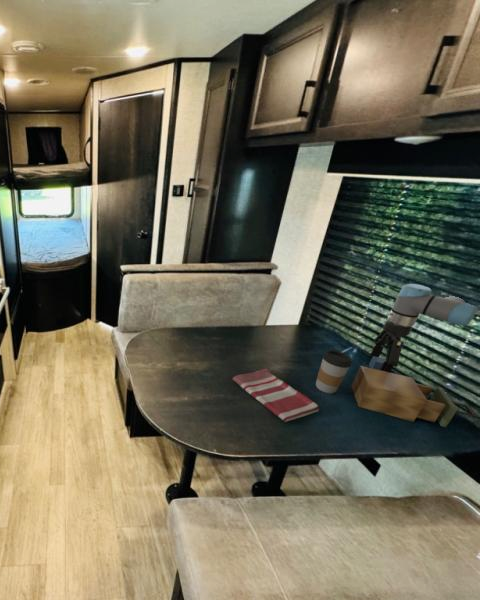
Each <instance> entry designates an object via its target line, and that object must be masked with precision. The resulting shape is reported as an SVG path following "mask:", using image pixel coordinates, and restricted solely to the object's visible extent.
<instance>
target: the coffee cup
mask: <svg viewBox="0 0 480 600" xmlns="http://www.w3.org/2000/svg"><path fill="white" fill-rule="evenodd" d="M351 367H352V357H351V356H350V355H348V354H346V353H344V352H342V351H340V350H334V349H329V350H327V351H325V352H324V353H323V356H322V359H321V363H320V367H319V370H318V374H317V377H316V382H315V387H316V388H317V389H318V390H319V391H321V392H323V393H325V394H334V393H336V392H337V390H338V389H339V387H340V386H341V384H342V382H343V380H344V378H345V377H346V375H347V373H348V371H349V369H350V368H351Z"/></svg>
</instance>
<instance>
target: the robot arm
mask: <svg viewBox="0 0 480 600" xmlns="http://www.w3.org/2000/svg"><path fill="white" fill-rule="evenodd" d="M444 297H445V296H444ZM444 297H442V296H437V295H434V294H432V289H431V288H430V287H428V286H425V285H422V284H418V283H407V284H404V285H403V286H402V287H401V289H400V291H399V293H398V294H397V296H396V299H395V301H394V303H393V305H392V308H391V310H390V312H388V313H387V315H388V316H387V319H386V320H385V322H384V324H383V327H382V330H381V331H380V332H379V333H378V335H377V336H376V337H375V338H374V347H373V348H372V350H371V353H370V354H369V357H368V358H369V359H370V360H371V359H372V357H373V356H375V357H380V356H381V354H382V352H383V351H384V347H386V348H387V349H386V357H385V359H386V362H385V361H384V362H383V365H382V367H381V369H380V370H381V371H385V372H389V373H391V371H392V369H393V368H394V367H396V368H397V367H398V365H399V361H400V356H401V352H402V349H403V346H404V345H405V341H403V340H402V337H408V336H409V335H410V334H411V332H412V329H413V326H415V324H416V322H417V320H418V319H419V316H420V315H423V316H427V317H431V318H434V319H437V320H441V321H444V322H447V323H450V324H455V325H459V326H463V327H464V326H468V325H469V324H470V323H471V322H472V320H473V319H474V317H475V316H476V314H477V312H478V311H479V310H478V307H477V306H474V305H471V304H469V303H466V302H465V301H464V300H463V299H461V298H459V297H455V296H449V297H445V298H444ZM474 315H475V316H474Z"/></svg>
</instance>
